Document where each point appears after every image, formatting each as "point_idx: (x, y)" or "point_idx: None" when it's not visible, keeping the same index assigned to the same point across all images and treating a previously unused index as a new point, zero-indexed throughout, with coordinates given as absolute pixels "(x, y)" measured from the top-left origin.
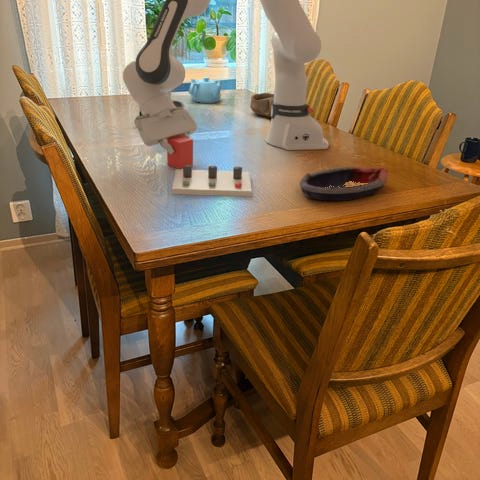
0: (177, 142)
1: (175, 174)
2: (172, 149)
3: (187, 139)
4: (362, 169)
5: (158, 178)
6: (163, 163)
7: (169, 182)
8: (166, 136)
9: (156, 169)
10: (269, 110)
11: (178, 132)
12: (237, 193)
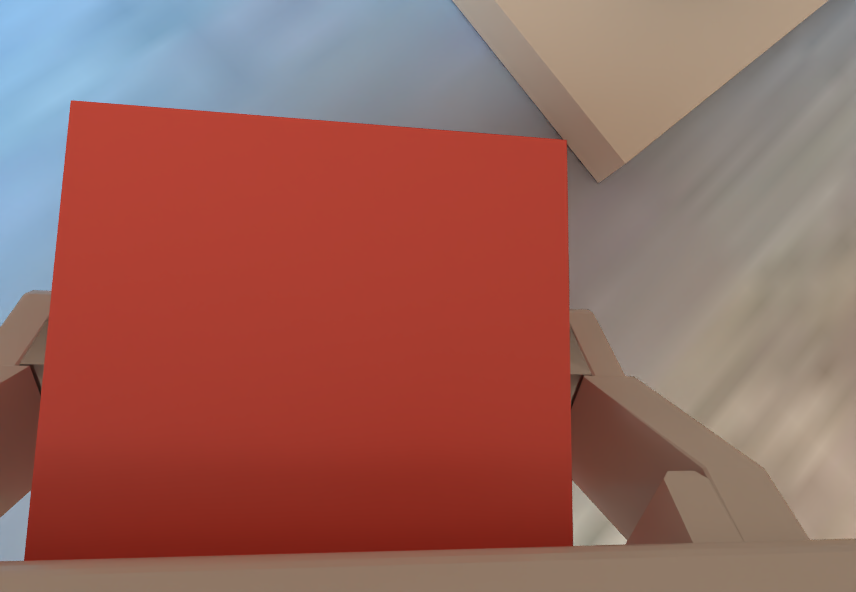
0: (565, 233)
1: (741, 66)
2: (588, 327)
3: (204, 197)
4: None
5: (803, 240)
6: None
7: (793, 90)
8: (749, 547)
9: None
10: None
11: (165, 584)
12: None
